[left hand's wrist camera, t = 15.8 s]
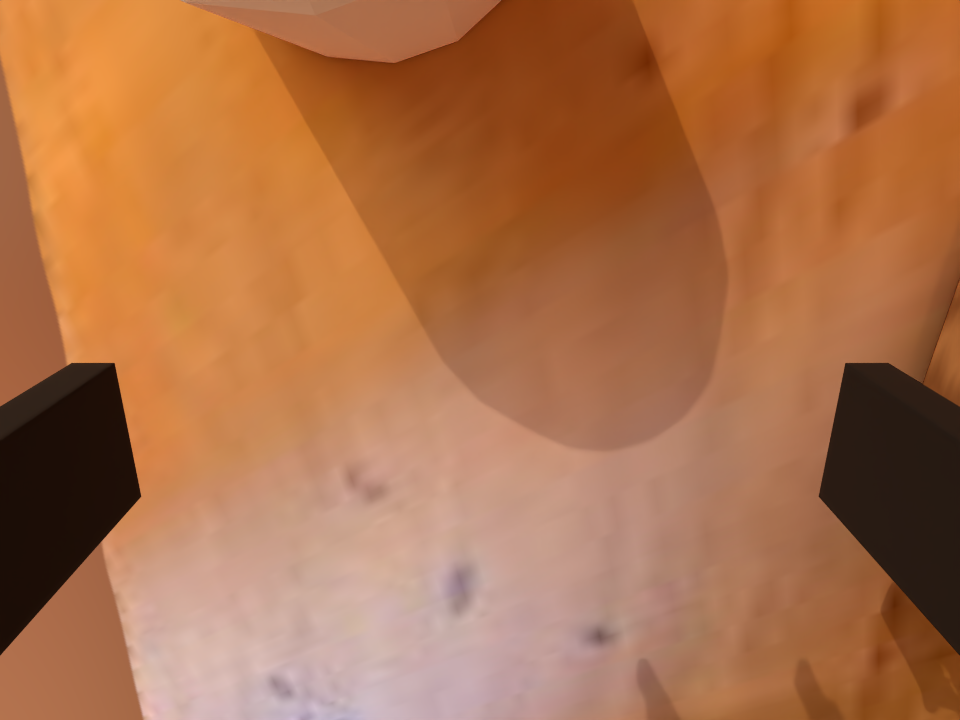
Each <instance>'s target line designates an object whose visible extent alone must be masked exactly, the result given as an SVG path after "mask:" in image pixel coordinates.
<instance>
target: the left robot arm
mask: <svg viewBox="0 0 960 720" xmlns="http://www.w3.org/2000/svg"><path fill="white" fill-rule="evenodd" d="M140 497H141V493H140V488H139V483H138V478H137V473H136V468H135V463H134V458H133V453H132V448H131V443H130V438H129V433H128V428H127V423H126V418H125V413H124V408H123V403H122V398H121V393H120V388H119V383H118V378H117V373H116V368H115V363H71V364H70V365H68V366H66V367H65V368H63V369H61V370H60V371H58V372H56V373H55V374H53V375H51V376H50V377H48V378H46V379H45V380H43V381H42V382H40V383H38V384H37V385H35V386H33V387H32V388H30V389H28V390H27V391H25V392H23V393H22V394H20V395H19V396H17V397H15V398H14V399H12V400H10V401H9V402H7V403H5V404H4V405H2V406H0V655H1V654H2V653H3V652H4V651H5V649H6V648H7V647H8V646H9V645H10V644H11V643H12V642H13V640H14V639H15V638H16V637H17V636H18V635H19V634H20V633H21V631H22V630H23V629H24V628H25V627H26V626H27V625H28V624H29V622H30V621H31V620H32V619H33V618H34V617H35V616H36V614H37V613H38V612H39V611H40V610H41V609H42V608H43V607H44V605H45V604H46V603H47V602H48V601H49V600H50V599H51V598H52V596H53V595H54V594H55V593H56V592H57V591H58V590H59V589H60V587H61V586H62V585H63V584H64V583H65V582H66V581H67V580H68V578H69V577H70V576H71V575H72V574H73V573H74V572H75V571H76V569H77V568H78V567H79V566H80V565H81V564H82V563H83V562H84V560H85V559H86V558H87V557H88V556H89V555H90V554H91V553H92V551H93V550H94V549H95V548H96V547H97V546H98V545H99V544H100V542H101V541H102V540H103V539H104V538H105V537H106V536H107V534H108V533H109V532H110V531H111V530H112V529H113V528H114V527H115V525H116V524H117V523H118V522H119V521H120V520H121V519H122V518H123V516H124V515H125V514H126V513H127V512H128V511H129V510H130V509H131V507H132V506H133V505H134V504H135V503H136V502H137V501H138V500H139V498H140ZM819 497H820V498H821V500H822V501H823V502H824V503H825V504H826V505H827V506H828V507H829V509H830V510H831V511H832V512H833V513H834V514H835V515H836V516H837V518H838V519H839V520H840V521H841V522H842V523H843V524H844V525H845V527H846V528H847V529H848V530H849V531H850V532H851V533H852V534H853V536H854V537H855V538H856V539H857V540H858V541H859V542H860V544H861V545H862V546H863V547H864V548H865V549H866V550H867V551H868V553H869V554H870V555H871V556H872V557H873V558H874V559H875V560H876V562H877V563H878V564H879V565H880V566H881V567H882V568H883V569H884V571H885V572H886V573H887V574H888V575H889V576H890V577H891V578H892V580H893V581H894V582H895V583H896V584H897V585H898V586H899V587H900V589H901V590H902V591H903V592H904V593H905V594H906V595H907V596H908V598H909V599H910V600H911V601H912V602H913V603H914V604H915V605H916V607H917V608H918V609H919V610H920V611H921V612H922V613H923V614H924V616H925V617H926V618H927V619H928V620H929V621H930V622H931V624H932V625H933V626H934V627H935V628H936V629H937V630H938V631H939V633H940V634H941V635H942V636H943V637H944V638H945V639H946V640H947V642H948V643H949V644H950V645H951V646H952V647H953V648H954V649H955V651H956V652H957V653H958V654H959V655H960V406H958V405H956V404H955V403H953V402H951V401H950V400H948V399H946V398H945V397H943V396H941V395H940V394H938V393H937V392H935V391H933V390H932V389H930V388H928V387H927V386H925V385H923V384H922V383H920V382H918V381H917V380H915V379H914V378H912V377H910V376H909V375H907V374H905V373H904V372H902V371H900V370H899V369H897V368H895V367H894V366H892V365H890V364H889V363H845V368H844V373H843V378H842V383H841V388H840V393H839V398H838V403H837V408H836V413H835V418H834V423H833V428H832V433H831V438H830V443H829V448H828V453H827V458H826V463H825V468H824V473H823V478H822V483H821V488H820V493H819Z"/></svg>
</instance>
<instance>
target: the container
mask: <svg viewBox="0 0 960 720" xmlns="http://www.w3.org/2000/svg"><path fill="white" fill-rule="evenodd" d="M181 1H183V2H185V3H188V4H190V5H193V6H196V7H198V8H201V9H204V10H206V11H209V12H211V13H214V14H217V15H219V16H222V17H225V18H227V19H230V20H232V21H235V22H238V23H240V24H243V25H246V26H248V27H251V28H253V29H256V30H259V31H261V32H264V33H267V34H269V35H272V36H274V37H277V38H280V39H282V40H285V41H288V42H290V43H293V44H295V45H298V46H301V47H303V48H306V49H309V50H311V51H314V52H317V53H319V54H322V55H324V56H327V57H336V58H347V59H357V60H368V61H378V62H389V63H396V62H399V61H402V60H405V59H408V58H410V57H413V56H416V55H419V54H422V53H425V52H428V51H430V50H433V49H436V48H439V47H442V46H445V45H448V44H451V43H453V42H456V41H458V40H459V39H461V38H462V37H463V36H464V35H465V34H466V33H467V32H468V31H469V30H470V29H471V28H472V27H473V26H474V25H476V24H477V23H478V22H479V21H480V20H481V19H482V18H483V17H484V16H485V15H486V14H487V13H488V12H489V11H491V10H492V9H493V8H494V7H495V6H496V5H497V4H498V3H499V2H500V1H501V0H181Z"/></svg>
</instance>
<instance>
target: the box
mask: <svg viewBox="0 0 960 720" xmlns="http://www.w3.org/2000/svg"><path fill="white" fill-rule="evenodd" d="M923 385H925V386H927V387H928V388H930V389H932V390H933V391H935V392H937V393H938V394H940V395H941V396H943V397H945V398H946V399H948V400H950V401H951V402H953V403H955V404H956V405H958V406H960V280H959V283H958V286H957V289H956V291H955V294H954V297H953V300H952V303H951V306H950V308H949V311H948V314H947V317H946V320H945V323H944V325H943V328H942V331H941V334H940V337H939V340H938V342H937V345H936V348H935V351H934V354H933V357H932V359H931V362H930V365H929V368H928V371H927V374H926V376H925V379H924V382H923Z"/></svg>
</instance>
